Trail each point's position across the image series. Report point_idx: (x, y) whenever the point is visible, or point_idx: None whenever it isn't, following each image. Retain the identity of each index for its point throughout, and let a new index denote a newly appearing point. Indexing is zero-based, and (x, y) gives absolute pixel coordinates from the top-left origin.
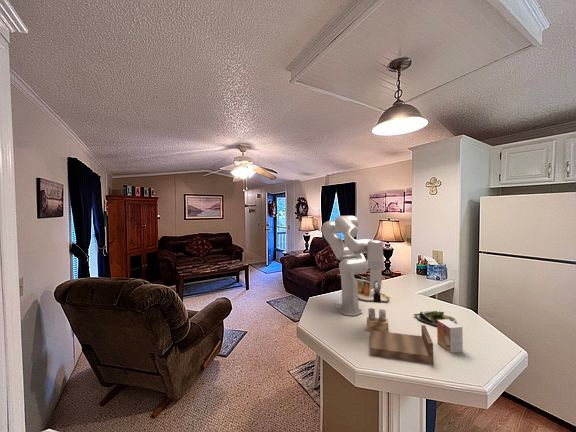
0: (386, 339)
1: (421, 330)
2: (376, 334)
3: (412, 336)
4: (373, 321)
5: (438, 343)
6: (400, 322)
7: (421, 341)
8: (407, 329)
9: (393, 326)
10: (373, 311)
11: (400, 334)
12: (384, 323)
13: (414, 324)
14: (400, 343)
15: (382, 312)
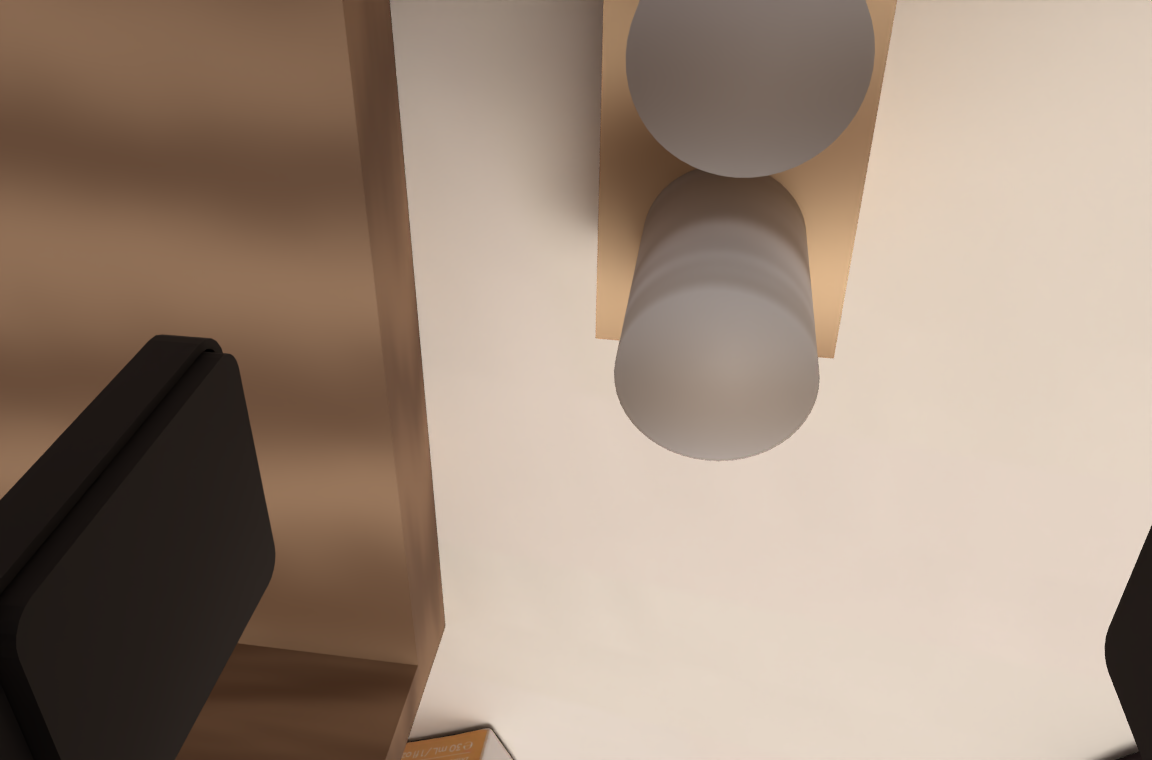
0: (71, 203)
1: (389, 735)
2: (176, 33)
3: (360, 570)
4: (615, 12)
5: (474, 733)
6: (1132, 492)
7: (258, 627)
8: (835, 532)
9: (938, 356)
10: (642, 110)
11: (363, 438)
12: (599, 259)
13: (1043, 654)
14: (60, 386)
15: (618, 361)
